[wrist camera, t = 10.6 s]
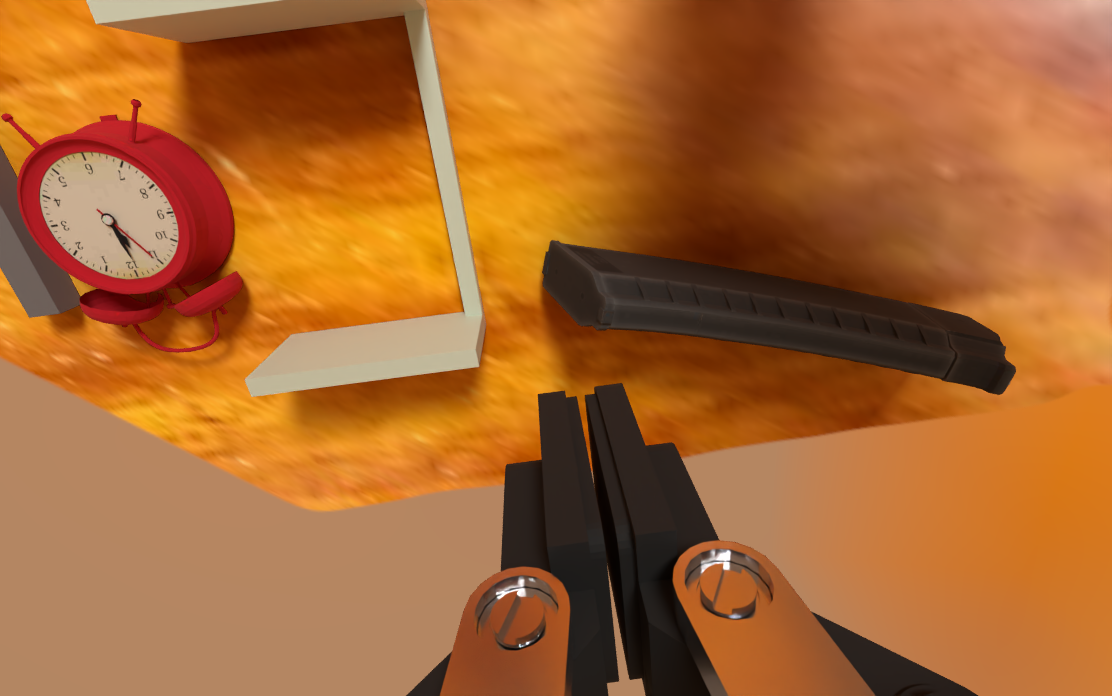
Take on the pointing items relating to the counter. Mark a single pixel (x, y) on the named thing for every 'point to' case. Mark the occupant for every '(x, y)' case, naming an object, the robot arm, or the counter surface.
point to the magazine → (771, 314)
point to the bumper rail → (29, 257)
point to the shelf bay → (450, 339)
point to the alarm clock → (129, 219)
